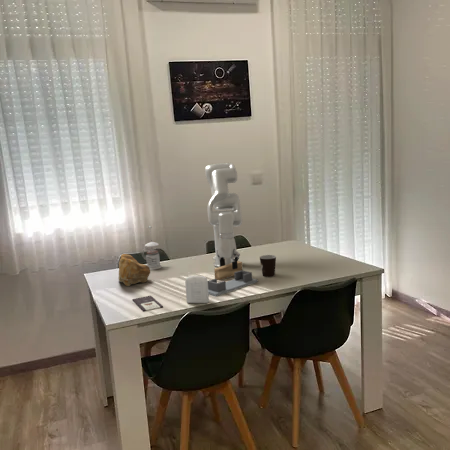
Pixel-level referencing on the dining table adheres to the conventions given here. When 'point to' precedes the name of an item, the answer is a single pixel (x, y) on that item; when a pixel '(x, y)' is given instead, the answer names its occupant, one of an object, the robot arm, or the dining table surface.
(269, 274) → the coffee mug
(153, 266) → the french press
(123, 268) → the rough brown rock
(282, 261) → the dining table surface
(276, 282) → the dining table surface
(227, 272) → the slat
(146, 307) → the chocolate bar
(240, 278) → the endcap board
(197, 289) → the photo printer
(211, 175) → the robot arm
